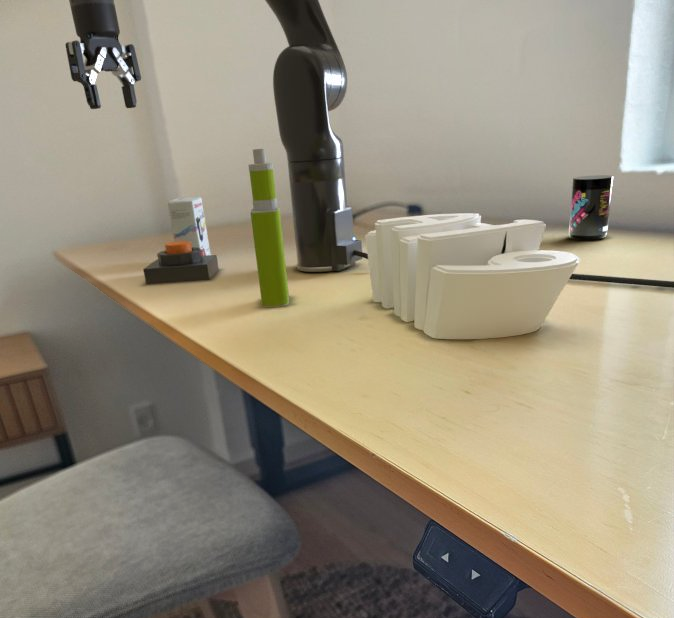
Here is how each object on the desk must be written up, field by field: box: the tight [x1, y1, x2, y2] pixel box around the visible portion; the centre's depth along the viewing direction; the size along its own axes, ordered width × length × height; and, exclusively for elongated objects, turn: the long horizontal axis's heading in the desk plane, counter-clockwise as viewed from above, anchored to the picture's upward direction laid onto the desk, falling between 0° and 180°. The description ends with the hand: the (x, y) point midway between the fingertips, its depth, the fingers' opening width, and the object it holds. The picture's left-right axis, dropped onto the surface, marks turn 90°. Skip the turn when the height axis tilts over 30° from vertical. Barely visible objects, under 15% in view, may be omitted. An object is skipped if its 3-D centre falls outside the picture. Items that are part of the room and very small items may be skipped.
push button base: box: [143, 247, 220, 285], centre depth 115 cm, size 11×9×4 cm
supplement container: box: [568, 174, 614, 242], centre depth 119 cm, size 7×7×10 cm
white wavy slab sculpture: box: [364, 212, 581, 340], centre depth 81 cm, size 35×16×11 cm, turn 14°
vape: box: [248, 148, 290, 308], centre depth 90 cm, size 4×6×20 cm, turn 2°
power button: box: [164, 241, 192, 254], centre depth 114 cm, size 4×4×2 cm
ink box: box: [167, 196, 212, 256], centre depth 126 cm, size 9×5×12 cm, turn 179°
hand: (114, 108), depth 122 cm, fingers open, 8 cm apart
